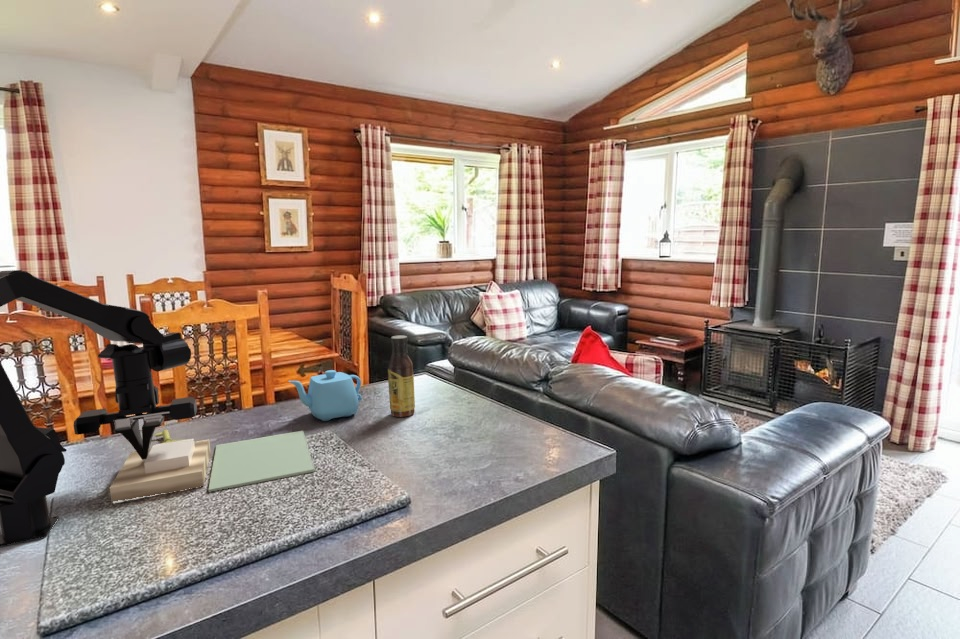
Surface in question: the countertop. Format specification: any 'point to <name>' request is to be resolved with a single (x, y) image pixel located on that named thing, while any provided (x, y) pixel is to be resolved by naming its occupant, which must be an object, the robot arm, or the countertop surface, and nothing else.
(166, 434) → the key
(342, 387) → the teapot
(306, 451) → the mat
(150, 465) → the white flat block
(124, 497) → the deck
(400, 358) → the sauce bottle
